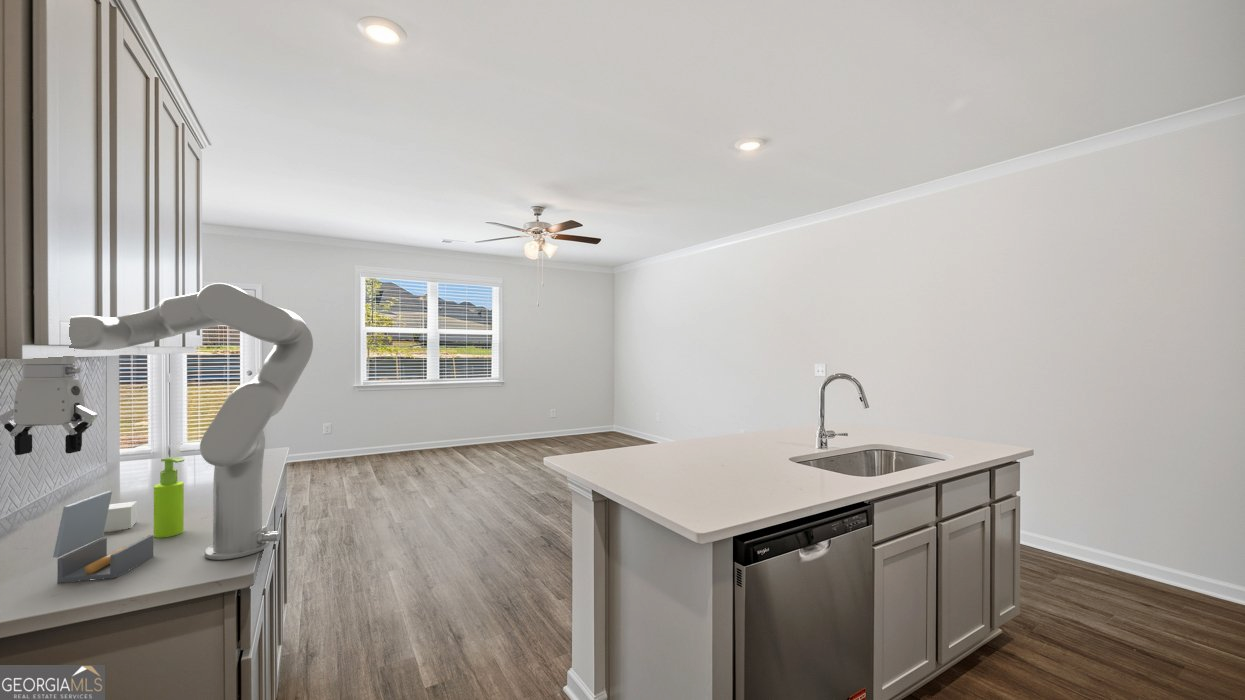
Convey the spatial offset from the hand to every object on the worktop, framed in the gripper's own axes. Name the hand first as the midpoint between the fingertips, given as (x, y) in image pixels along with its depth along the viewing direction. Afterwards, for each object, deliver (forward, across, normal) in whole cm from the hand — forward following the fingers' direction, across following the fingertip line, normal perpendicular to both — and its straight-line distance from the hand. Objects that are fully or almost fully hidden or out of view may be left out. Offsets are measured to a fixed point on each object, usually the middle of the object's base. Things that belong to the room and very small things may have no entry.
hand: (48, 452), depth 111 cm
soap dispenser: (+26, -10, -22) cm, 36 cm away
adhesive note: (+26, +6, -31) cm, 41 cm away
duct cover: (+16, -7, 0) cm, 17 cm away
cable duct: (+26, -11, 0) cm, 28 cm away
